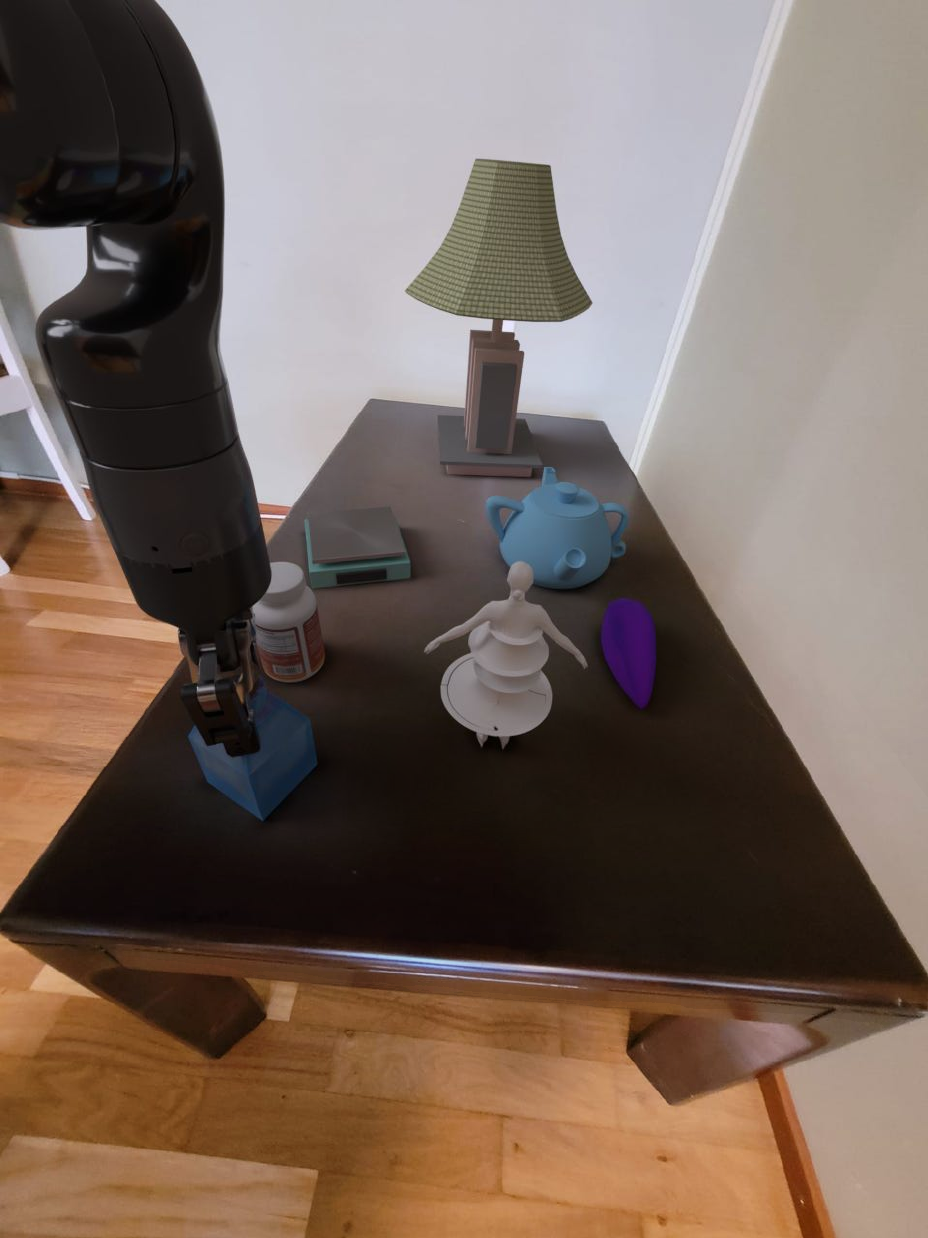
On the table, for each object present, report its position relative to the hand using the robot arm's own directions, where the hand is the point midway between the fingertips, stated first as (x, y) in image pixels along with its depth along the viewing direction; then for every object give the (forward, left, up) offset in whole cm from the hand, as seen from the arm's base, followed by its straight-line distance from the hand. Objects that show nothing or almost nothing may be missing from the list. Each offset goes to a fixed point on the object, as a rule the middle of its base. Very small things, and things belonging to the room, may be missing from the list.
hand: (246, 715), depth 40 cm
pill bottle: (+3, +13, -8) cm, 16 cm away
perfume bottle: (0, 0, -8) cm, 8 cm away
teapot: (+36, +25, -8) cm, 45 cm away
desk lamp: (+37, +59, -8) cm, 70 cm away
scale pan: (+11, +31, -5) cm, 33 cm away
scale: (+11, +31, -8) cm, 34 cm away
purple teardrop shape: (+37, +6, -8) cm, 39 cm away
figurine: (+20, 0, -8) cm, 22 cm away
